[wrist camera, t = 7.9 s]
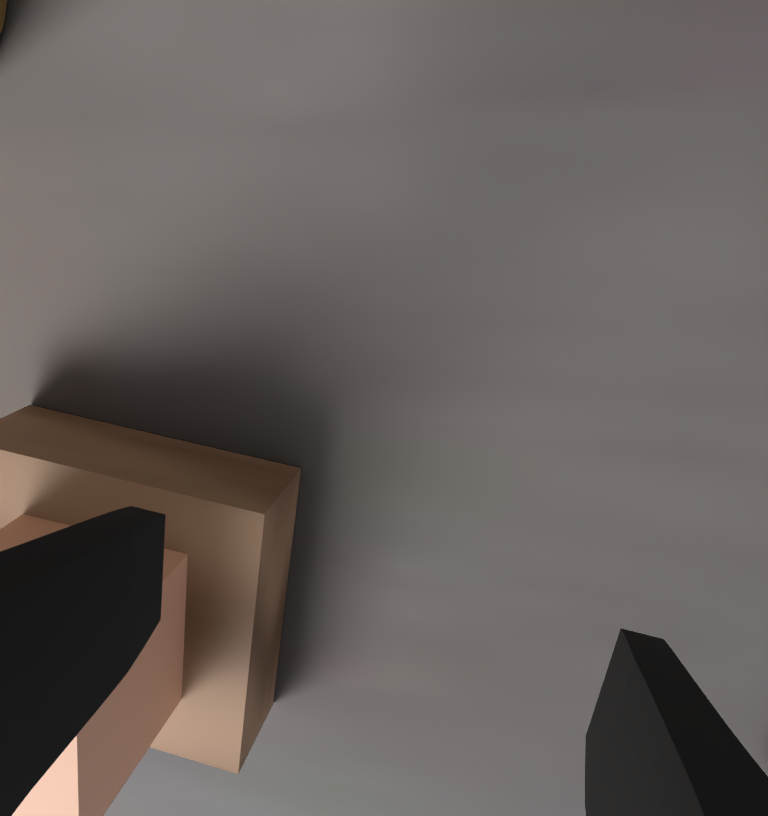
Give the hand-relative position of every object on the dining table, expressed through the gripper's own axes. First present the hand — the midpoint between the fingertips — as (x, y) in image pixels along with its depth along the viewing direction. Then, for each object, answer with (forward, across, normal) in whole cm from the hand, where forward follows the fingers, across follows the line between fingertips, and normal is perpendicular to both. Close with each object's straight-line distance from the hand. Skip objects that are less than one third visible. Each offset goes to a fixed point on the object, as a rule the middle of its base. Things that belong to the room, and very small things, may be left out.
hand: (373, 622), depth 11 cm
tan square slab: (+9, +8, +7) cm, 14 cm away
